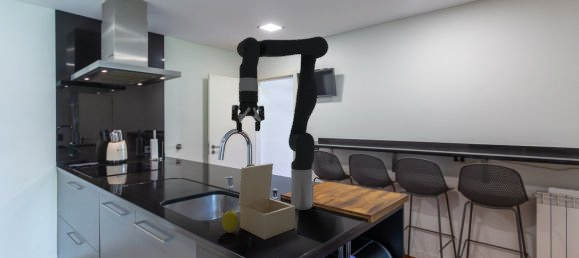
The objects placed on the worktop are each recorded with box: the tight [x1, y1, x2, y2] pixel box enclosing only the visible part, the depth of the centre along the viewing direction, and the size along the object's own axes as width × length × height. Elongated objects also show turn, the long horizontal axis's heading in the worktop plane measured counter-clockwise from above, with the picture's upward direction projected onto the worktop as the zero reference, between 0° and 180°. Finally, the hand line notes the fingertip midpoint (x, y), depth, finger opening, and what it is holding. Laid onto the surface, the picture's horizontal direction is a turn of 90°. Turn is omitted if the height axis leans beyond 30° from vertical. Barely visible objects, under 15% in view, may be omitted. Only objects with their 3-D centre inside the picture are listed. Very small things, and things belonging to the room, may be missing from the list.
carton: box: [239, 197, 296, 240], centre depth 104 cm, size 14×14×8 cm
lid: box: [238, 162, 274, 206], centre depth 111 cm, size 14×14×6 cm
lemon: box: [221, 209, 240, 234], centre depth 100 cm, size 6×6×8 cm
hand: (248, 131), depth 114 cm, fingers open, 8 cm apart
